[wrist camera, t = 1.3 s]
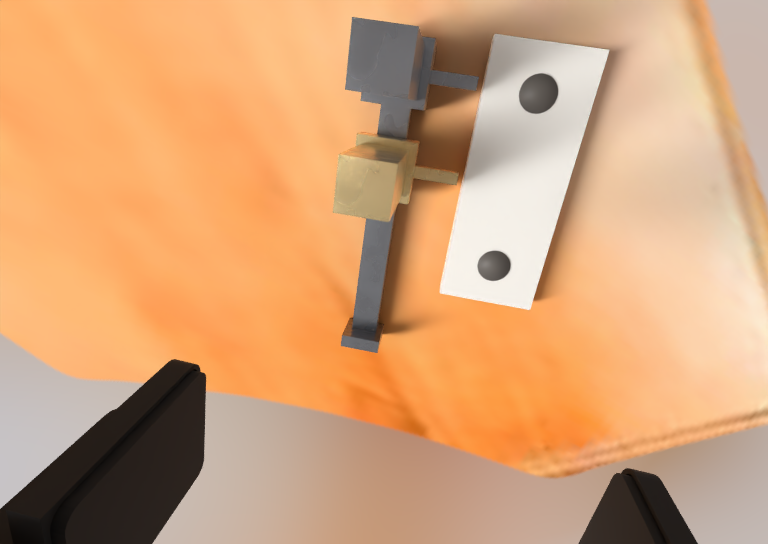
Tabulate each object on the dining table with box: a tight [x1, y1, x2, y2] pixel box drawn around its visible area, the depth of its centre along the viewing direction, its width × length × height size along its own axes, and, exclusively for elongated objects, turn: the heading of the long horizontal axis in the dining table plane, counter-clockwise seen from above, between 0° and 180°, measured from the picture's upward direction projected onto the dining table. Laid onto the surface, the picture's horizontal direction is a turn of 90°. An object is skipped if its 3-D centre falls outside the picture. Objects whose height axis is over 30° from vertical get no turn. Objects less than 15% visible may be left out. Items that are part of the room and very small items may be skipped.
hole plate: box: [440, 34, 609, 310], centre depth 30 cm, size 18×7×2 cm, turn 172°
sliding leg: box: [333, 132, 459, 222], centre depth 26 cm, size 4×7×9 cm, turn 82°
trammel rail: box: [341, 17, 479, 353], centre depth 28 cm, size 22×7×11 cm, turn 172°
